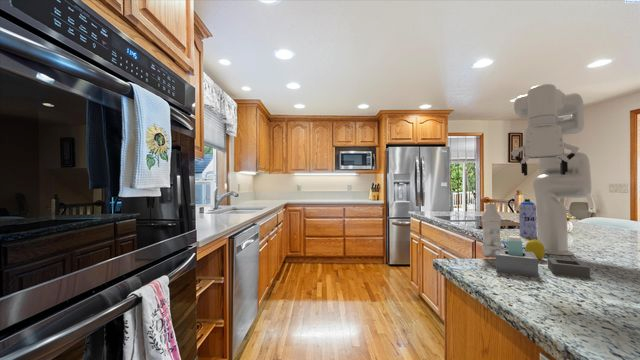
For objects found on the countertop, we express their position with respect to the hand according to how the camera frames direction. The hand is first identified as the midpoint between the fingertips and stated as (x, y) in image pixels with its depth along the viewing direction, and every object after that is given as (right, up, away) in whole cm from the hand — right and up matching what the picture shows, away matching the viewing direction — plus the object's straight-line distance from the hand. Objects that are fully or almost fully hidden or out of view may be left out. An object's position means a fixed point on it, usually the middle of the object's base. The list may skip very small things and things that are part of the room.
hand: (543, 175), depth 91 cm
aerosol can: (+40, -32, +59) cm, 78 cm away
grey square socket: (0, -30, -9) cm, 31 cm away
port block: (-14, -30, -6) cm, 34 cm away
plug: (-14, -29, -6) cm, 33 cm away
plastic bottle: (-10, -31, +12) cm, 35 cm away
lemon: (+3, -31, +7) cm, 32 cm away
